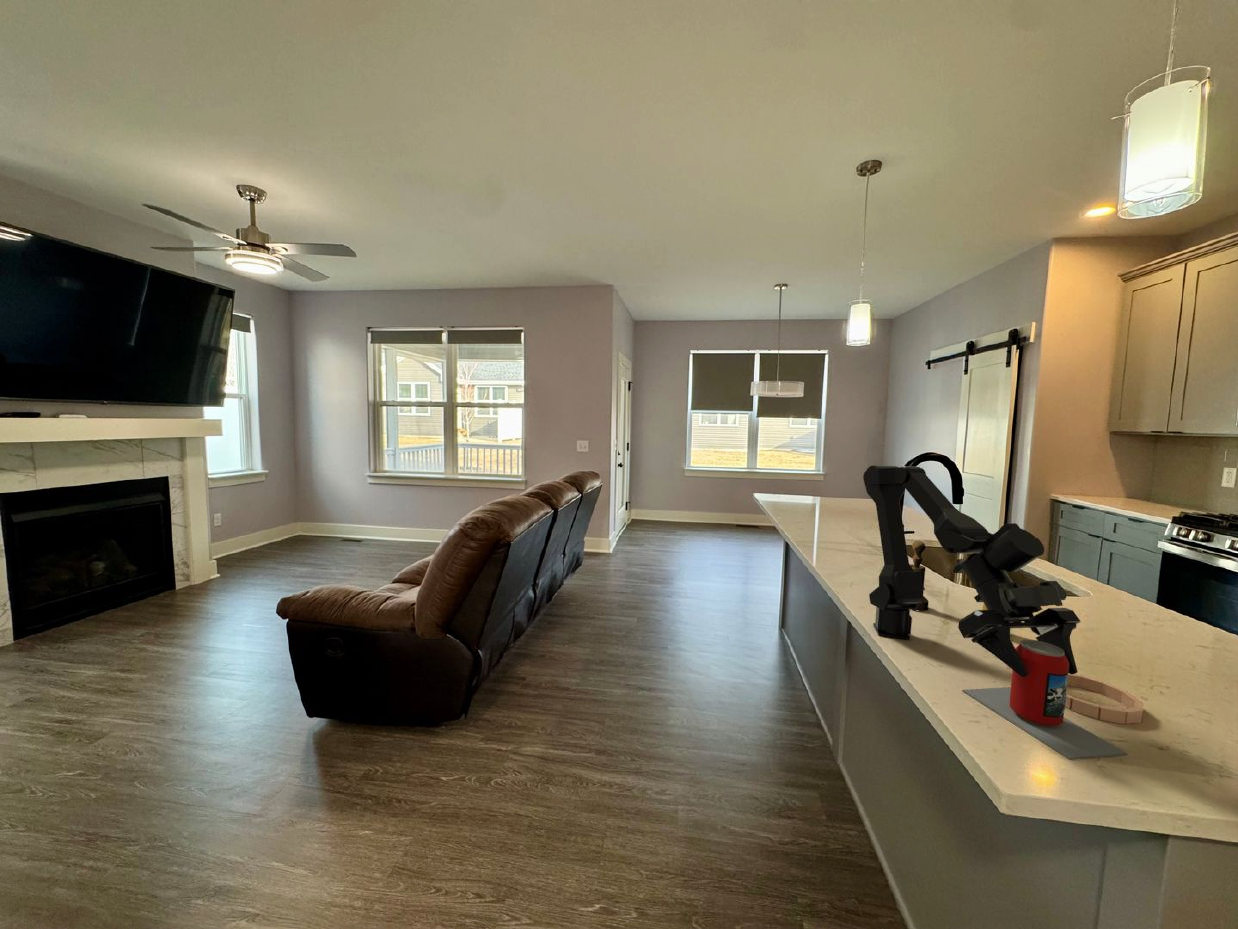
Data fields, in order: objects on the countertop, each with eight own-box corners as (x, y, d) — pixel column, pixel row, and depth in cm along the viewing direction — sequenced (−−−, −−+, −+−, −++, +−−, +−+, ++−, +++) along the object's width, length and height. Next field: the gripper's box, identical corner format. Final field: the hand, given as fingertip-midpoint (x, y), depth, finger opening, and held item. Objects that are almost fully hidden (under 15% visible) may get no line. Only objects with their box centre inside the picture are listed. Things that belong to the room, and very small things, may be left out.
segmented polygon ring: (1063, 713, 81) (1064, 702, 81) (1025, 676, 93) (1026, 666, 93) (1163, 730, 77) (1165, 718, 77) (1109, 689, 89) (1110, 679, 89)
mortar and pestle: (894, 602, 133) (899, 537, 131) (916, 602, 133) (921, 538, 132) (910, 611, 126) (916, 543, 125) (934, 611, 127) (939, 544, 125)
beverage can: (1064, 736, 74) (1072, 660, 73) (1008, 718, 78) (1015, 647, 77) (1061, 716, 79) (1068, 646, 78) (1008, 701, 84) (1014, 634, 83)
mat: (962, 691, 87) (962, 689, 87) (1010, 688, 88) (1010, 687, 88) (1069, 759, 69) (1069, 757, 69) (1126, 754, 71) (1127, 752, 71)
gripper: (979, 563, 79) (1040, 660, 69) (1074, 562, 82) (1146, 655, 72) (936, 593, 88) (985, 683, 78) (1024, 591, 90) (1082, 678, 80)
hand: (1050, 675), depth 77 cm, fingers open, 9 cm apart
